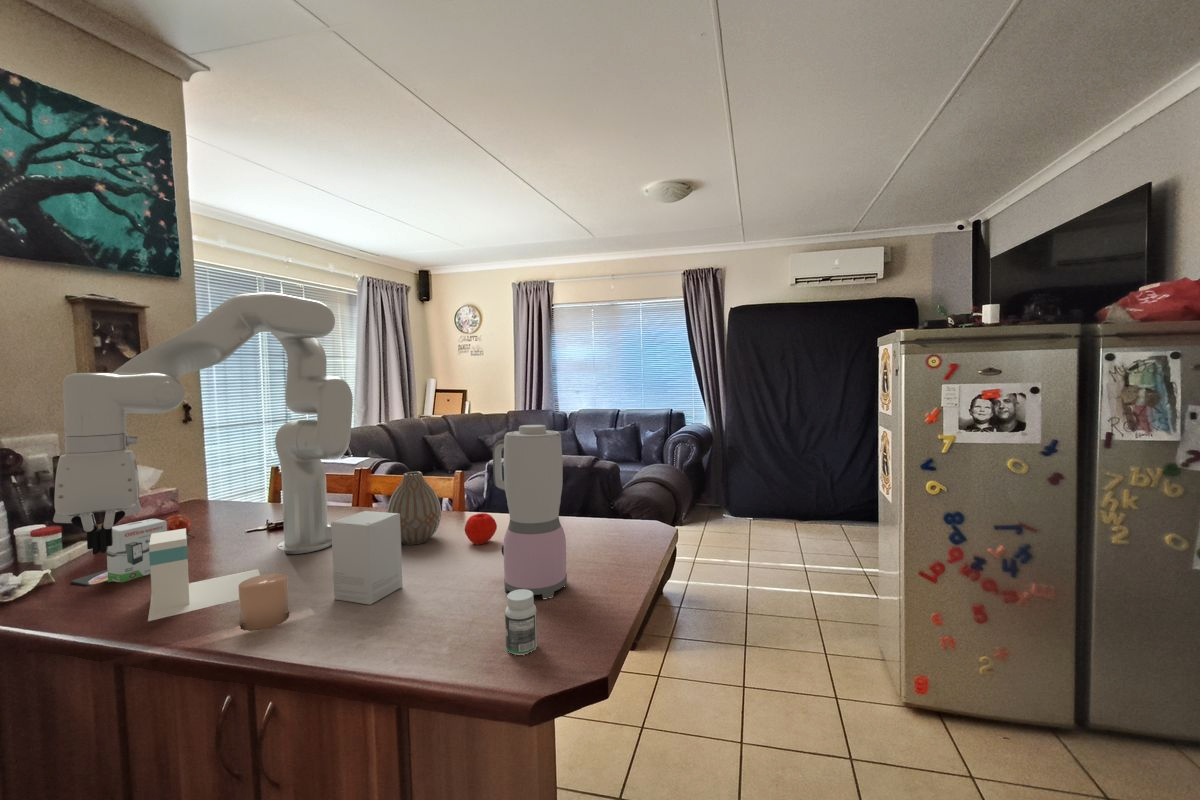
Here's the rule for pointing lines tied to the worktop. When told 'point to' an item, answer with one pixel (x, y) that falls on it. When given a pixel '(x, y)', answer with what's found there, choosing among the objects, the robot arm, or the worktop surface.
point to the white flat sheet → (208, 594)
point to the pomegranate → (178, 523)
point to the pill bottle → (521, 622)
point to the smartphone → (92, 579)
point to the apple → (480, 528)
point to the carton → (169, 569)
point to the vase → (415, 509)
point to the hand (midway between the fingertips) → (100, 551)
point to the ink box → (131, 549)
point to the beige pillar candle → (263, 601)
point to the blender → (532, 509)
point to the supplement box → (366, 556)
